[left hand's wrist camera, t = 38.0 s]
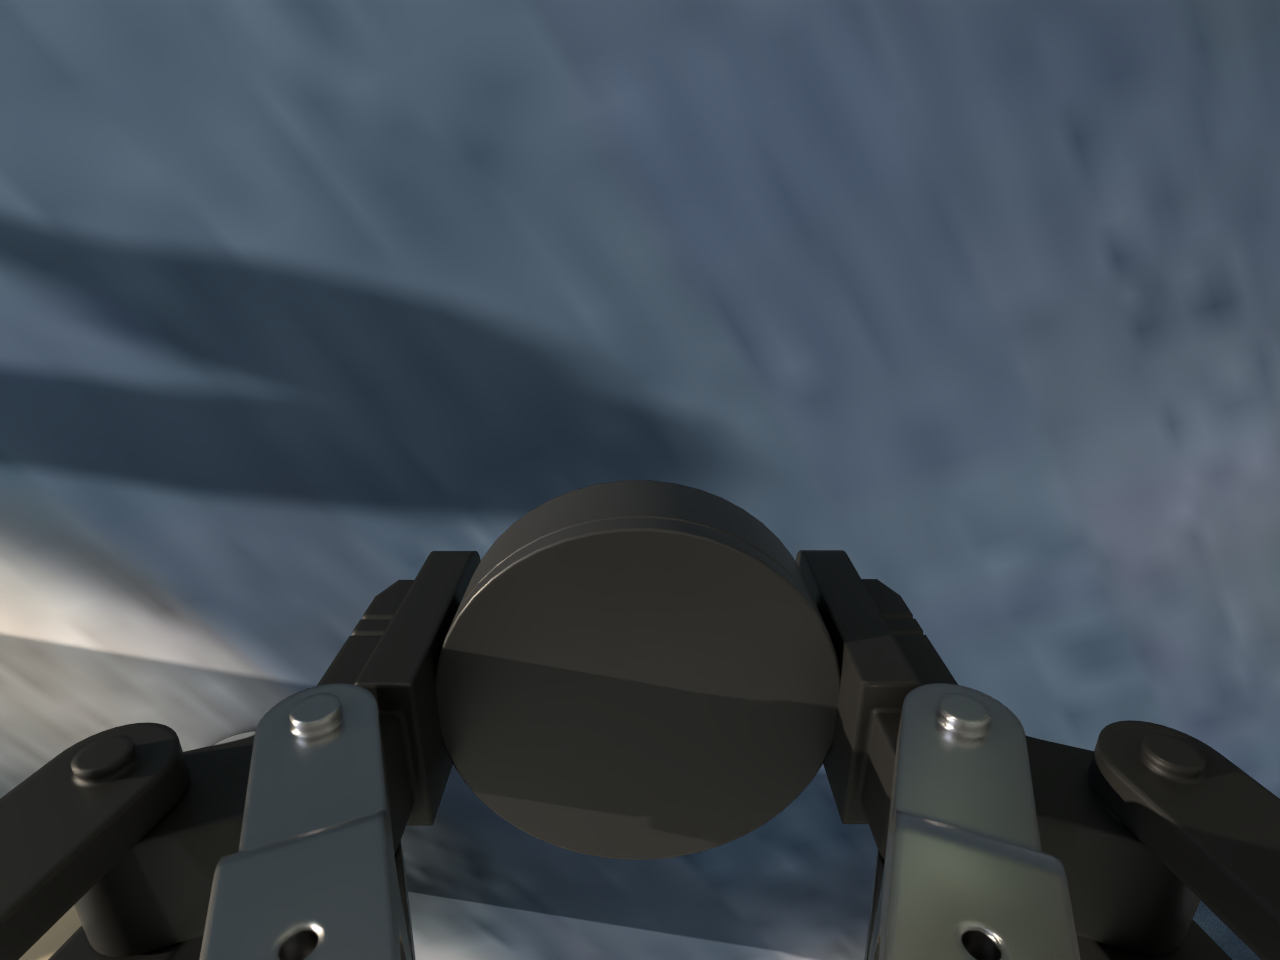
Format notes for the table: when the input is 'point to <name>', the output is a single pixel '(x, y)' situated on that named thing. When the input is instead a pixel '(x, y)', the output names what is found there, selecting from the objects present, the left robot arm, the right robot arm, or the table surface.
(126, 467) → the table surface
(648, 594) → the lid
